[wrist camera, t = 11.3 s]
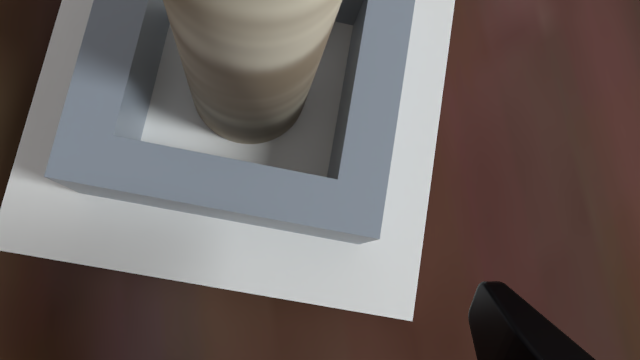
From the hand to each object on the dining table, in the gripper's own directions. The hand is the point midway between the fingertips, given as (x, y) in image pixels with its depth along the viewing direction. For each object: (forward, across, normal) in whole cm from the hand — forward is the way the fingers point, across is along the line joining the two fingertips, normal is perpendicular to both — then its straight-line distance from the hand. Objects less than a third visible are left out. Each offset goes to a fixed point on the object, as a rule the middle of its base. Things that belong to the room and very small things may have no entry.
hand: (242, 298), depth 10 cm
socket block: (+11, 0, +1) cm, 11 cm away
